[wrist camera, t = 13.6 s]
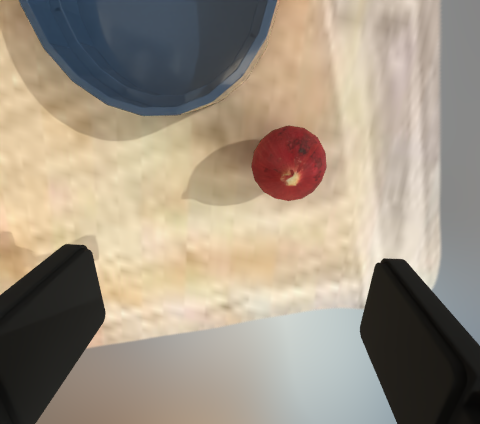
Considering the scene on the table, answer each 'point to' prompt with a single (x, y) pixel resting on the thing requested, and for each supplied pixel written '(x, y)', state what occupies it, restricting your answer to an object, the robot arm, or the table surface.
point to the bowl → (154, 48)
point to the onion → (289, 163)
